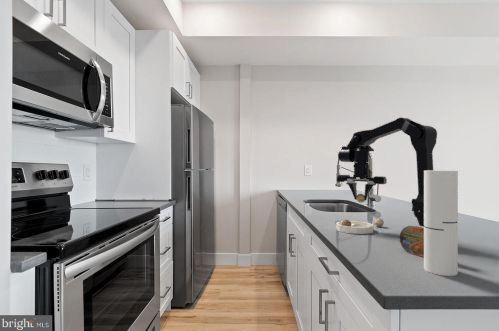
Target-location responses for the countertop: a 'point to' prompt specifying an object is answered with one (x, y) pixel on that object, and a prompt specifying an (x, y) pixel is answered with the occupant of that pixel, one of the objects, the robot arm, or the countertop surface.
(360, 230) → the groove tray
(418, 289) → the countertop surface
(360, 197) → the oak bead
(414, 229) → the tin
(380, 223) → the maple bead
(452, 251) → the cylindrical container
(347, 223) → the walnut bead
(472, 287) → the countertop surface
